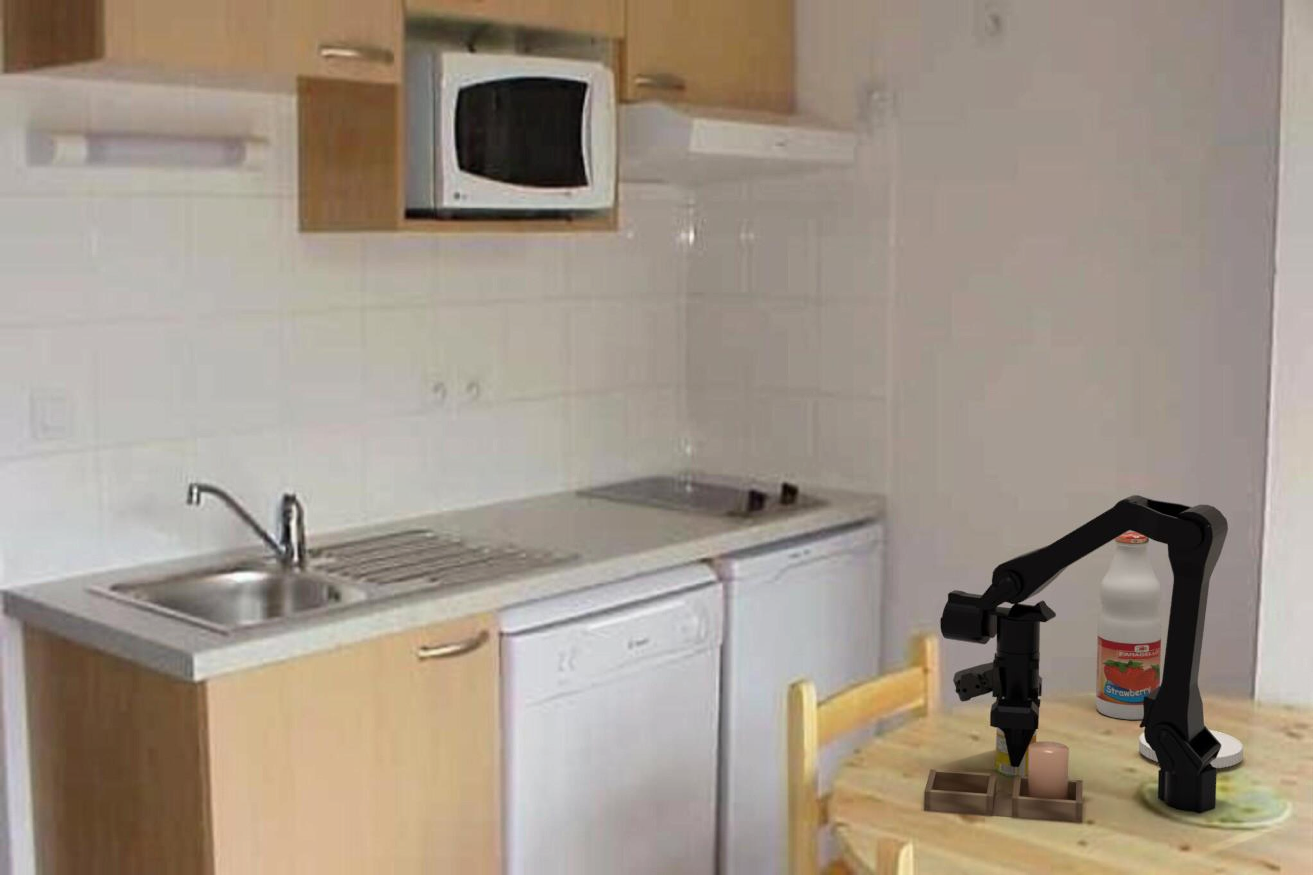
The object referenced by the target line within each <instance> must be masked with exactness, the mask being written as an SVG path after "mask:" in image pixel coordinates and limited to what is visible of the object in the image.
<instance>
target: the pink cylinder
mask: <svg viewBox="0 0 1313 875" xmlns="http://www.w3.org/2000/svg"><path fill="white" fill-rule="evenodd" d="M1069 758H1070V749H1069V746H1067V745H1066V744H1064V743H1060V742H1055V741H1046V740H1045V741H1044V740H1043V741H1036V742H1035V743H1032V744H1030V745H1029V759H1028V797H1033V798H1046V799H1059V800H1068V779H1069V769H1070V768H1069V766H1070V764H1069V761H1070V760H1069Z"/></svg>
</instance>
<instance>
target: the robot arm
mask: <svg viewBox="0 0 1313 875" xmlns="http://www.w3.org/2000/svg"><path fill="white" fill-rule="evenodd" d="M1228 525H1229V524H1228V521H1227V517H1226V516H1224V515H1223V513H1222V511H1220V510H1219V509H1218V508H1217V507H1215V506H1213V505H1210V504H1197V505H1194V506H1189V505H1185V504H1182V503H1175V502H1169V501H1163V500H1156V499H1152V498H1148V497H1145V496H1141V495H1139V494H1138V495H1137V494H1136V495H1134V494H1132V495H1131V496H1127V497H1125V498H1124V499H1121V500H1119V501H1118V502H1116V503H1115V505H1114V506H1112V507H1111V508H1109V509H1107V510H1106V511H1104V512H1103V513H1101V514H1099V515H1098V516H1096V517H1094V518H1093V519H1091V520H1089V521H1088V522H1086V523H1084V524H1083V525H1080V526H1079V527H1078V528H1075V529H1074V530H1073V531H1071V532H1069V533H1067V534H1065V535H1064V536H1062V537H1061V538H1059V539H1057V540H1056V541H1054V542H1052V543H1050V544H1049V545H1045V546H1042V547H1040V548H1036V549H1033V550H1031V551H1028V552H1026V553H1025V552H1024V553H1023V554H1020V555H1018V556H1015V557H1014V558H1011V559H1009V560H1006V561H1005V562H1002V563H1000V564H998V565H997V566H996V567H995V568H994V569H993V571H992V576H991V584H990V585H989V586H988V588H987V589H986V590H985V592H984V593H983V594H977V593H969V592H966V591H963V590H956V589H955V590H952V591H950V592H949V593H947V602H946V603H945V605H944V608H943V611H942V616H941V617H940V621H939V624H940V632H941V635H942V637H943V638H944V639H946V640H951V641H958V642H966V643H973V644H979V645H987V643H988V642H989V641H990V639H994V638H995V637H996V652H995V653H994V658H993V660H992V661H991V662H987V663H982V664H979V665H974V666H972V667H968V668H964V669H962V670H958V671H957V672H955V673H954V675H953V679H952V682H953V683H954V684H953V685H954V686H955V690H954V692H955V693H956V694H957V695H958V698H959V700H960V702H962V703H963V702H968V701H970V700H971V699H973V698H976V697H979V696H984V695H987V694H990V693H991V694H992V698H996V699H995V701H994V703H992V704H991V706H990V712H989V714H990V716H989V726H990V727H992V728H996V729H997V728H999V729H1000V730H1002V731H1003V733H1004V736H1005V741H1006V745H1007V750H1008V755H1009V759H1010V764H1011V766H1012V767H1019V766H1020V764H1021V761H1022V759H1023V757H1024V755H1025V753H1026V750H1027V748H1028V746H1029V744H1030V742H1031V739H1032V737H1033V735H1034V733H1035V731H1036V732H1037V730H1038V729H1039V726H1040V725H1039V722H1040V707H1041V701H1042V700H1041V699H1039V697H1042V693H1043V678H1042V676H1040V661H1041V660H1040V659H1041V658H1040V657H1041V654H1040V653H1041V652H1040V648H1041V647H1040V645H1041V643H1040V642H1041V641H1040V640H1041V639H1040V637H1041V623H1047V622H1049V621H1051V620H1052V619H1054V618H1056V617H1057V614H1056V612H1055V611H1054V610H1053V609H1052V608H1051V607H1049V605H1047V603H1046V602H1045V600H1041V601H1039V602H1037V603H1036V604H1034V605H1032V604H1025V603H1024V604H1023V603H1022V602H1024V601H1027V600H1028V599H1030V598H1032V597H1034V596H1036V595H1038V594H1039V593H1041V592H1042V591H1044V589H1046V588H1047V587H1048V586H1049V585H1051V583H1052V582H1054V581H1055V580H1056V579H1057V578H1058V577H1059V576H1060V575H1061V574H1062V573H1063V572H1064V571H1065V570H1066V569H1067V568H1068V567H1069V566H1072V565H1073V564H1075V563H1076V562H1078V561H1080V560H1081V559H1084V558H1085V557H1087V556H1088V555H1090V554H1092V553H1093V552H1095V551H1097V550H1098V549H1100V548H1102V547H1104V546H1105V545H1107V544H1108V543H1111V542H1112V541H1115V539H1116V538H1118V537H1119V536H1121V535H1123V534H1124V533H1126V532H1128V531H1134V532H1137V533H1139V534H1142V535H1144V536H1146V537H1148V538H1149V540H1150V539H1151V540H1152V541H1154V542H1157V543H1162V544H1165V545H1167V556H1168V561H1169V565H1170V567H1171V572H1172V576H1173V583H1172V592H1171V598H1170V600H1171V601H1170V607H1169V618H1168V625H1167V626H1168V627H1167V635H1166V643H1165V650H1164V651H1165V653H1164V660H1163V670H1162V678H1161V679H1162V680H1161V683H1160V686H1158V687H1157V688H1155V689H1154V690H1153V691H1151V692H1150V693H1149V694H1148V695H1146V696H1145V697H1144V701H1143V708H1144V716H1143V719H1141V723H1140V724H1139V728H1141V729H1142V728H1144V732H1143V733H1144V737H1145V740H1146V743H1148V744H1149V746H1150V747H1151V748H1152V750H1154V751H1155V754H1156V757H1157V760H1158V762H1157V764H1158V765H1159V768H1160V769H1159V770H1158V774H1157V775H1158V776H1157V777H1158V778H1157V799H1159V800H1160V801H1161V802H1164V804H1165V805H1166V806H1167V807H1169V808H1171V809H1174V810H1177V811H1181V812H1189V813H1197V814H1203V813H1206V812H1209V811H1211V810H1215V809H1216V805H1217V804H1216V802H1217V801H1216V799H1217V774H1218V772H1217V771H1218V770H1217V769H1218V768H1215V767H1212V765H1211V764H1210V762H1211V761H1212V760H1213V759H1216V758H1217V755H1218V753H1219V751H1220V749H1221V744H1220V742H1219V741H1218V740H1217V739H1216V738H1215V737H1214V736H1213V734H1212V733H1211V732H1210V731H1209V730H1210V729H1208V727H1206V725H1205V718H1204V717H1205V716H1204V703H1203V700H1202V696H1201V693H1200V689H1199V681H1198V680H1199V673H1200V671H1199V670H1200V665H1201V664H1200V663H1201V658H1202V657H1201V655H1202V648H1203V647H1202V646H1203V638H1204V631H1205V621H1206V613H1207V608H1208V607H1207V605H1208V596H1209V589H1210V588H1209V587H1210V580H1211V578H1212V575H1213V572H1214V571H1215V568H1216V566H1217V563H1218V561H1219V559H1220V556H1221V554H1222V550H1223V548H1224V544H1225V542H1226V538H1227V535H1228V532H1229V531H1228V530H1229V526H1228ZM1005 603H1007V604H1010V605H1012V606H1011V607H1004V606H1000V605H1002V604H1005Z"/></svg>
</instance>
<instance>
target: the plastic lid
mask: <svg viewBox="0 0 1313 875" xmlns="http://www.w3.org/2000/svg"><path fill="white" fill-rule="evenodd" d="M1208 730H1209V731H1210V732H1211V733H1212V734H1213V736H1214V737H1215V738H1216V739H1217V740H1218V741H1219V742H1220V744H1221V749H1220V751H1219V753H1218V755H1217V758H1216V759H1213V760H1212V761H1211V762H1210V764H1211V765H1212V767H1215V768H1217V769H1222V768H1224V769H1225V768H1228V767H1232V766H1235V765H1237V764H1239V763H1241V761H1242V760H1243V756H1244V745H1243V743H1242V741H1240V740H1239V739H1238V738H1236V737H1234V736H1232V735H1230V734H1227V733H1223V732H1220V731H1216V730H1212V729H1208ZM1138 750H1139V752H1140V753H1141V755H1142V756H1144V757H1146V758H1147V759H1150V760H1151V761H1152V760H1153V761H1154V762H1157V763H1158V760H1157V757H1156V754H1155V751H1154V750H1152V748H1151V747H1150V746H1149V744H1148V743H1146V740H1145V737H1144V732H1141V734H1139V737H1138Z"/></svg>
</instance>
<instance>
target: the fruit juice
mask: <svg viewBox="0 0 1313 875" xmlns="http://www.w3.org/2000/svg"><path fill="white" fill-rule="evenodd" d="M1114 541H1115V545H1116V551H1115V552H1114V556H1113V558H1112V560H1111V563H1110V566H1109V568H1108V570H1107V571H1106V574H1105V575H1104V577H1103V578H1102V580H1101V582H1100V586H1099V596H1100V600H1101V605H1102V609H1101V612H1100V615H1099V617H1098V620H1097V621H1098V622H1097V642H1096V643H1097V644H1096V646H1097V649H1096V650H1097V651H1096V652H1097V654H1096V681H1095V682H1096V683H1095V684H1096V685H1095V686H1096V691H1095V694H1096V695H1095V705H1096V710H1097V711H1098V712H1099V713H1100V714H1102V715H1105V716H1107V717H1111V718H1113V719H1114V718H1115V719H1119V720H1120V719H1121V720H1133V721H1134V720H1136V721H1137V720H1143V716H1144V708H1143V701H1144V697H1145V696H1146V695H1148V694H1149V693H1150V692H1151V691H1153V690H1154V689H1155V688H1157V687H1158V686H1161V683H1160V682H1161V681H1160V680H1161V651H1162V650H1161V649H1162V622H1161V618H1160V615H1159V610H1158V609H1159V606H1160V603H1161V599H1162V586H1161V583H1160V581H1159V580H1158V578H1157V576H1156V574H1155V571H1154V569H1153V566H1152V563H1151V560H1150V557H1149V554H1148V550H1147V547H1148V545H1149V542H1150V538H1148V537H1146V536H1144V535H1142V534H1139V533H1137V532H1134V531H1131V530H1130V531H1128V532H1126V533H1124V534H1123V535H1121V536H1119V537H1118V538H1116V539H1114Z"/></svg>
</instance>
